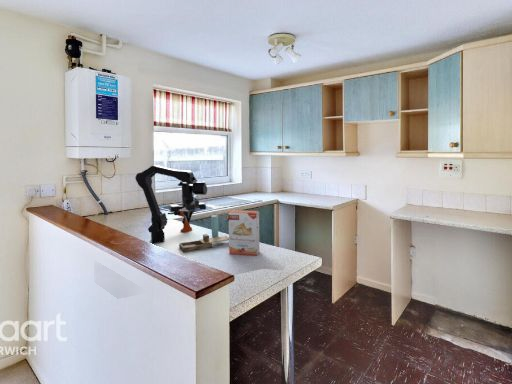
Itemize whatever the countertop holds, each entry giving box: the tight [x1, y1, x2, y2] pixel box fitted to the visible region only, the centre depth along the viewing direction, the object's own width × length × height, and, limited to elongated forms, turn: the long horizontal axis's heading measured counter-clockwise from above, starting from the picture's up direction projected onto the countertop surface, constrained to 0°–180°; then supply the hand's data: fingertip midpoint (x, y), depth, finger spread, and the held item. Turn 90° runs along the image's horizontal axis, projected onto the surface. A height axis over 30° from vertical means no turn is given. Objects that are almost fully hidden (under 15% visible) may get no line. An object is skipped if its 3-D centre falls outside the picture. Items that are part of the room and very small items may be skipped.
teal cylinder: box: [210, 215, 219, 238], centre depth 182 cm, size 4×4×13 cm
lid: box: [199, 233, 229, 244], centre depth 171 cm, size 15×7×4 cm, turn 116°
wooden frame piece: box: [178, 239, 214, 253], centre depth 167 cm, size 15×9×2 cm, turn 116°
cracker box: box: [227, 209, 260, 256], centre depth 156 cm, size 14×6×21 cm, turn 76°
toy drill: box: [167, 209, 193, 233], centre depth 196 cm, size 5×19×15 cm, turn 144°
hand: (188, 222), depth 175 cm, fingers closed
